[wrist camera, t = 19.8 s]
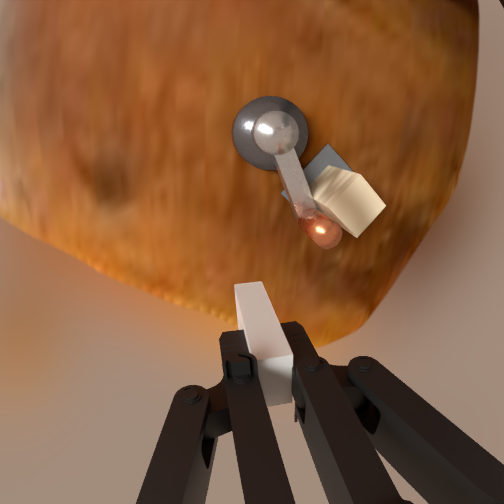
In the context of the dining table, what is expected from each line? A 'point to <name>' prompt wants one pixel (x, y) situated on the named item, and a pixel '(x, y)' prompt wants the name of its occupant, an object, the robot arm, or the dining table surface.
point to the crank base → (246, 120)
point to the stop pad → (321, 166)
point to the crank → (293, 175)
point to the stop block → (346, 199)
